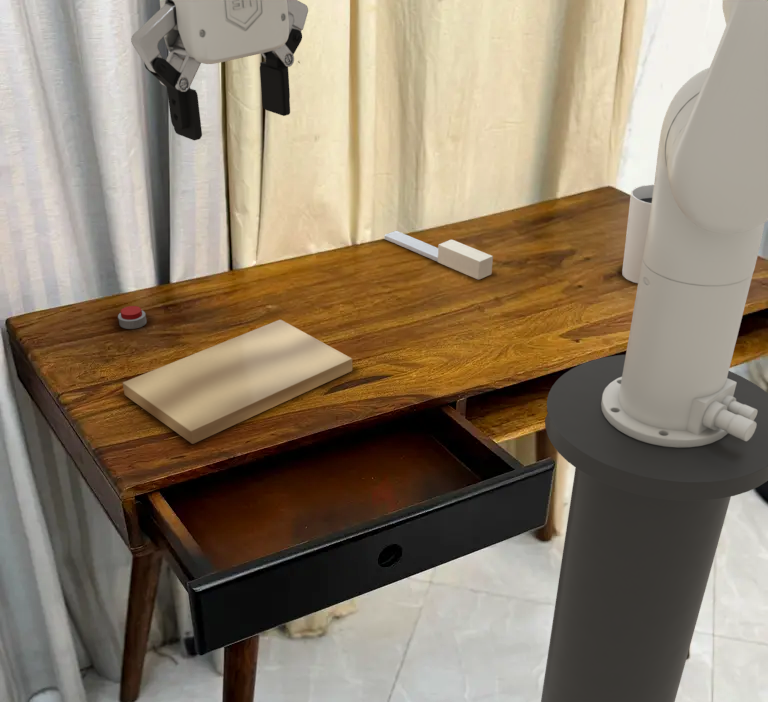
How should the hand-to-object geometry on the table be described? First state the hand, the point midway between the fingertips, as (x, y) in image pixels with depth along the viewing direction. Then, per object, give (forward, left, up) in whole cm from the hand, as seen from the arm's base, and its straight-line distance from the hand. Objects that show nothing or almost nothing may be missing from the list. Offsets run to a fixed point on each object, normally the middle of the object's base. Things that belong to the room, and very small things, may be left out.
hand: (233, 123), depth 87 cm
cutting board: (0, +2, -25) cm, 25 cm away
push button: (+19, +3, -25) cm, 32 cm away
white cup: (-13, -50, -25) cm, 57 cm away
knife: (+8, -35, -25) cm, 44 cm away
